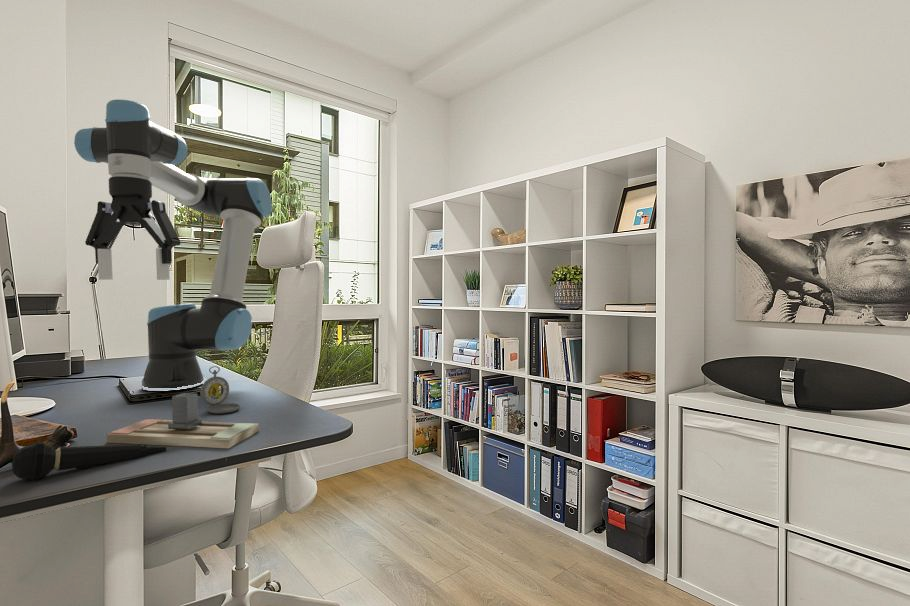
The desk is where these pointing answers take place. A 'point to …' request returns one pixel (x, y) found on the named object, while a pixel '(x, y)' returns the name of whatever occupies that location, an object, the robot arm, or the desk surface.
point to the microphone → (72, 457)
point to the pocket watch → (217, 394)
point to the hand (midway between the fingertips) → (134, 279)
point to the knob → (184, 412)
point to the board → (184, 434)
